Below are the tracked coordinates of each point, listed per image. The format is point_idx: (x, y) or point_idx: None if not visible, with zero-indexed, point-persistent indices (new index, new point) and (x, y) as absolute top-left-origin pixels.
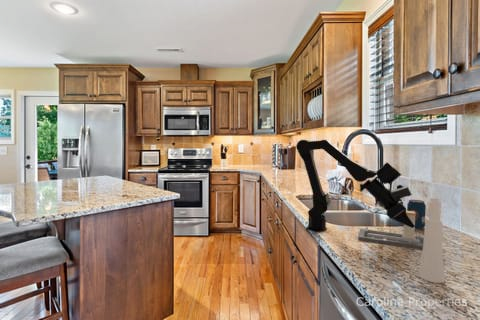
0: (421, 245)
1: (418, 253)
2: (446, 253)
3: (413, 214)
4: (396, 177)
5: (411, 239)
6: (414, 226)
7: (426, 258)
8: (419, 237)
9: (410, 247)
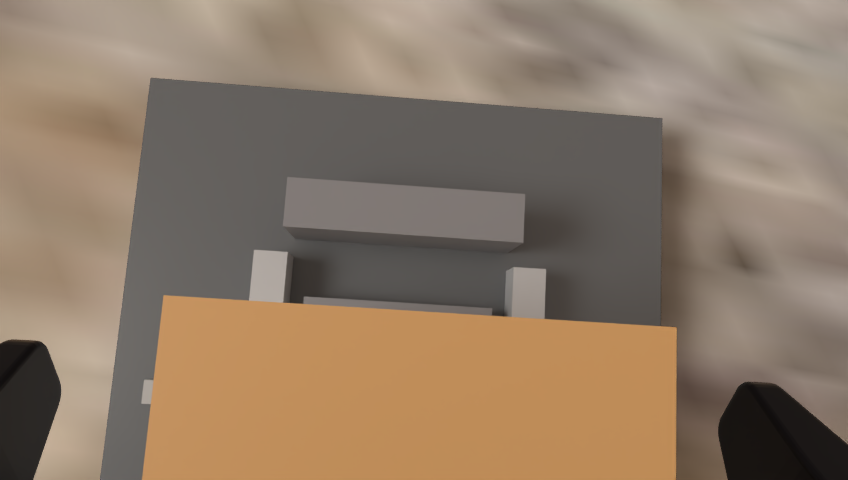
0: (641, 269)
1: (833, 347)
2: (661, 13)
3: (648, 420)
4: None
5: None
6: (766, 387)
7: None
8: (357, 237)
9: None
